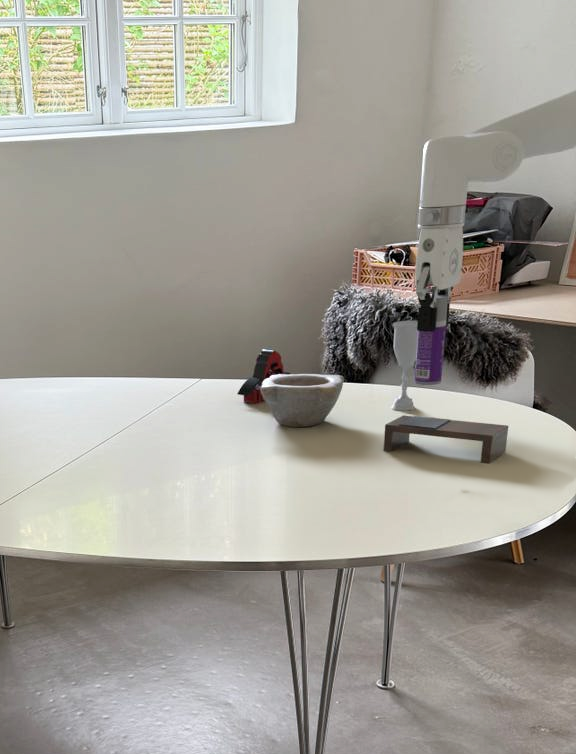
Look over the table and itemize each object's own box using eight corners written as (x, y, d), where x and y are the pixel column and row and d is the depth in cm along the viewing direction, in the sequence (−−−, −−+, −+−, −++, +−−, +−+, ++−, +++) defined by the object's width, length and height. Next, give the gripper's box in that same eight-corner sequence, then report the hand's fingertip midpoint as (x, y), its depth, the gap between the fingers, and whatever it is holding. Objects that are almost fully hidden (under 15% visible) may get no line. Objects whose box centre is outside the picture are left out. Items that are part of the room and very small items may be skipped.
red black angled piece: (247, 405, 222) (247, 356, 217) (237, 403, 225) (236, 355, 220) (298, 391, 232) (299, 344, 227) (287, 390, 234) (288, 343, 230)
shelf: (505, 452, 174) (508, 424, 172) (489, 463, 169) (492, 434, 167) (401, 440, 186) (403, 414, 184) (383, 450, 181) (385, 423, 179)
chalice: (414, 412, 205) (421, 326, 198) (383, 410, 209) (388, 325, 201) (422, 405, 211) (429, 320, 203) (391, 403, 214) (397, 320, 206)
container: (445, 383, 172) (452, 296, 166) (419, 385, 172) (426, 299, 166) (435, 378, 177) (442, 294, 170) (410, 381, 177) (416, 296, 170)
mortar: (346, 413, 209) (348, 371, 205) (334, 432, 195) (336, 387, 191) (270, 412, 215) (271, 371, 211) (253, 430, 201) (253, 387, 197)
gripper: (443, 221, 154) (433, 337, 162) (481, 213, 166) (471, 322, 174) (399, 222, 159) (392, 335, 167) (439, 214, 170) (431, 320, 178)
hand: (432, 327), depth 170 cm, fingers closed on container, 4 cm apart
